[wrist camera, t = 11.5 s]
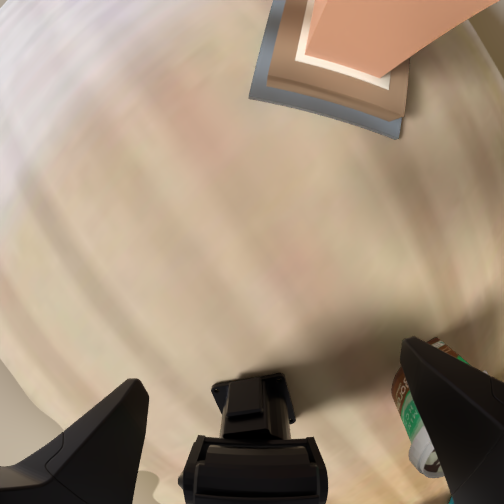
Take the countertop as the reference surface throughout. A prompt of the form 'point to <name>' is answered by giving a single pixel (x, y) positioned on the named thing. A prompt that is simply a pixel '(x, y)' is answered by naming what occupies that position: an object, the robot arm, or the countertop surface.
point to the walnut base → (323, 77)
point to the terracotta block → (382, 29)
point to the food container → (418, 421)
